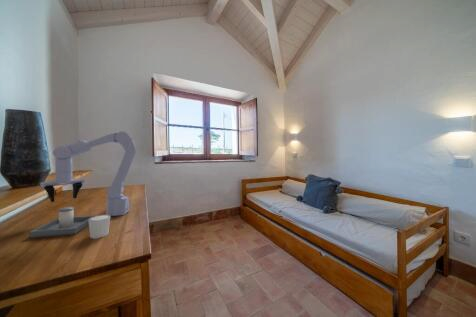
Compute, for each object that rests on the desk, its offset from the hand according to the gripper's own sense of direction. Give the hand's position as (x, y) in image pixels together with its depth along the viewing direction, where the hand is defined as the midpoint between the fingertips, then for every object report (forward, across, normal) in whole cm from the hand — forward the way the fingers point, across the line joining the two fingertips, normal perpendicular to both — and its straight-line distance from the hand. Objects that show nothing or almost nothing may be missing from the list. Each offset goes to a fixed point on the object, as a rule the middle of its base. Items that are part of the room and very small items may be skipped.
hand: (64, 199), depth 80 cm
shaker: (+9, +3, +14) cm, 17 cm away
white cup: (+10, -2, +32) cm, 33 cm away
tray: (+9, +3, +14) cm, 17 cm away
